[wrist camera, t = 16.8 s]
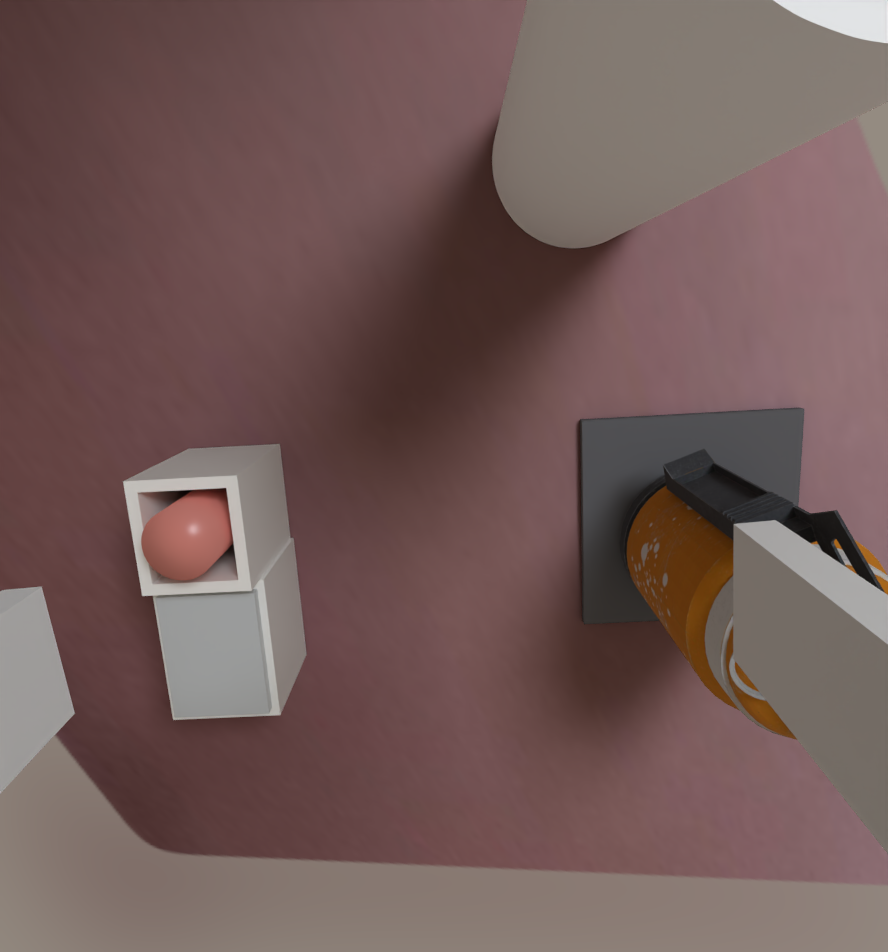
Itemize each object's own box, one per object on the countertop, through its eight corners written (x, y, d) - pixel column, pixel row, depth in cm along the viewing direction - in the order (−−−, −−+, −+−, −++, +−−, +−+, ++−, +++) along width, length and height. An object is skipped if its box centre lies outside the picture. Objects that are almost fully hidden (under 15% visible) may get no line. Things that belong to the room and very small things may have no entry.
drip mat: (580, 419, 41) (582, 421, 40) (799, 407, 41) (804, 408, 40) (582, 620, 44) (584, 624, 43) (786, 610, 43) (791, 614, 43)
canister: (644, 623, 43) (804, 874, 24) (584, 465, 41) (705, 598, 21) (781, 572, 42) (1065, 788, 23) (728, 408, 40) (991, 491, 20)
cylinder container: (636, 264, 39) (1199, 101, 10) (475, 228, 38) (548, -57, 9) (684, 86, 37) (1591, -819, 7) (514, 46, 36) (770, -1071, 7)
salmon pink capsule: (197, 473, 40) (135, 511, 32) (257, 470, 40) (211, 506, 32) (205, 531, 41) (147, 582, 33) (265, 528, 41) (220, 578, 33)
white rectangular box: (185, 448, 42) (119, 481, 33) (283, 443, 41) (241, 475, 33) (215, 658, 45) (161, 735, 36) (306, 654, 44) (273, 731, 36)
